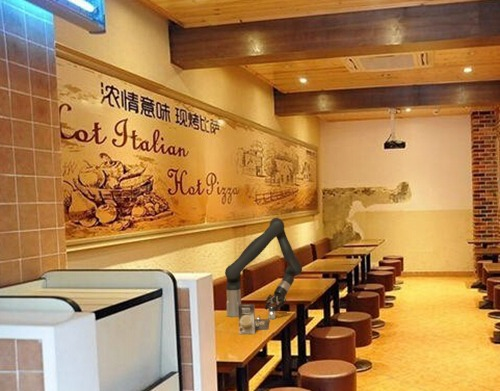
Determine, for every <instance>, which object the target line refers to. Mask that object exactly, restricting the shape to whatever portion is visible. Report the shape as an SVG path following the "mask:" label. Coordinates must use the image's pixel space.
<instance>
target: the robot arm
mask: <svg viewBox="0 0 500 391" xmlns="http://www.w3.org/2000/svg"><path fill="white" fill-rule="evenodd" d="M275 238H276V239H277V242H278V245H279V247H280V251H281V253H282V255H283V258H284V261H285V262H286V263H288V264H289V265H287V267H286V269H285V273H284V276H283V277H282V279H281V281H280V282H279V283H278V285H277V286H276V288H275V290H274V291H273V292H274V293H273V295H272V294H269V295H268V297H267V298H266V299H265V303H266V304H265V306H264V310H266V311H267V310H268V306H269V305H274V304H276V305H274V306H275V308H274V311H275V313H276V312H278V310H279V309H280V308H281V307H284V305H285V303H286V301H287V298H286V296H287V294H288V293H289V291H290V288H291V287H292V285H293V283H294V281H295V278H294V275H300V274H301V273H302V271H303V267H302V264H301V263H300V261H299V260H298V258H297V257H296V256H295V253H294V249H293V248H292V246H291V243H290V241H289V240H288V237H287V235H286V231H285V224H284V221H283V220H282V219H281V218H279V217H274V218H272V219H271V220H270V222H269V226H268V227H267V228H266V230H265V231H264V232H263V233H262V234H260V235H258V236H257V237H255V238H254V240H252V241H251V242H250V243H249V244H248V245H247V246H246V247H245V249H244V250H243V251H242V252H241V254H240V255H239V256H238V258H237V259H236V260H235V261H234V262H232V263H231V264H229V265H228V266H227V267H226V269H225V271H224V275H225V277H226V286H225V287H226V316H227V317H231V318H236V317H239V309H238V306H239V304H242V293H241V284H242V283H241V281H242V279H241V272H242V271H244V269H245V268H246V267H247V266H248V265H249V264H251V263H252V262H253V261H254V260H255V259H256V258H258V257H259V255H261V253H262V252H263V251H265V249H266V248H267V246H269V244H270V243H271V242H272V241H273V240H274V239H275Z"/></svg>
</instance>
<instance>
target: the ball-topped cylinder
mask: <svg viewBox="0 0 500 391" xmlns="http://www.w3.org/2000/svg"><path fill="white" fill-rule="evenodd" d="M275 306H276V305H274V304H271V305H269V306H268V309H267V310H268V311H267V312H268V319H269V320H275V319H276V312H275V311H274V308H275Z"/></svg>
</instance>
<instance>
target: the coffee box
mask: <svg viewBox="0 0 500 391" xmlns="http://www.w3.org/2000/svg"><path fill="white" fill-rule="evenodd" d="M255 305H256V304H254V303H251V304H250V303H249V304H248V303H247V304H246V303H244V304H243V303H241V304H239V306H238V309H239V316H238V334H239V335H255V333H256V330H255V319H256V311H255V310H256V309H255V307H256V306H255Z"/></svg>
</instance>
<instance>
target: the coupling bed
mask: <svg viewBox="0 0 500 391" xmlns="http://www.w3.org/2000/svg"><path fill="white" fill-rule="evenodd" d="M269 326H270V319H269V318H262V317H261V316H260V315H257V316H256V318H255V331H256V330H257V331H262V330H263V331H265V330H266V331H267V330H269Z"/></svg>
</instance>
